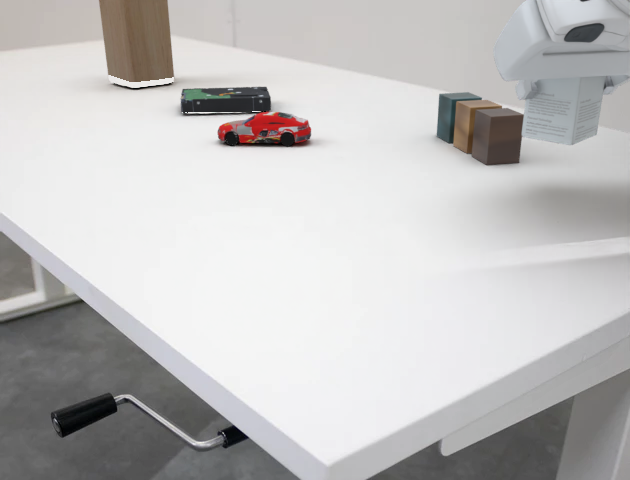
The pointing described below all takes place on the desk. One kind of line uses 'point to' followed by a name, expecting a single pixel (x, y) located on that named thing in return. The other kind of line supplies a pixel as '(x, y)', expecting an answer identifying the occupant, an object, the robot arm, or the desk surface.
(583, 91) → the white cardboard box
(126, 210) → the desk surface
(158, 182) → the desk surface
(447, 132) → the block row
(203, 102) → the disk drive
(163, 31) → the block
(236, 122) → the race car
